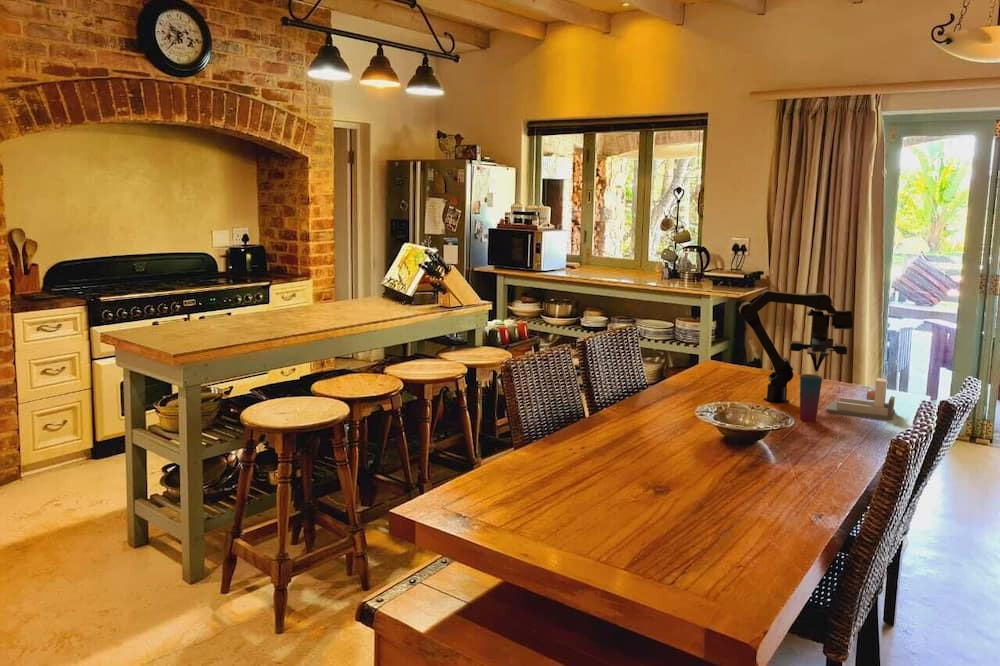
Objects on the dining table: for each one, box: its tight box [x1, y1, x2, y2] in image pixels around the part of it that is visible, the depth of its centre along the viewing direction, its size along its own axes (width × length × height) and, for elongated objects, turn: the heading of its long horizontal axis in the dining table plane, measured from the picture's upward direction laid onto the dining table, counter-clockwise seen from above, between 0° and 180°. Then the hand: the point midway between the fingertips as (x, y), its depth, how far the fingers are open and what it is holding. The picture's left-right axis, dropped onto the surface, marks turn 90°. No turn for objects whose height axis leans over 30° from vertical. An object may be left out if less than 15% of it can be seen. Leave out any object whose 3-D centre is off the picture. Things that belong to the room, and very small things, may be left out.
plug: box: [866, 377, 888, 407], centre depth 261 cm, size 6×5×11 cm
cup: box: [799, 373, 823, 423], centre depth 254 cm, size 7×7×15 cm
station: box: [825, 395, 896, 422], centre depth 264 cm, size 20×12×6 cm, turn 59°
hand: (816, 371), depth 274 cm, fingers closed
